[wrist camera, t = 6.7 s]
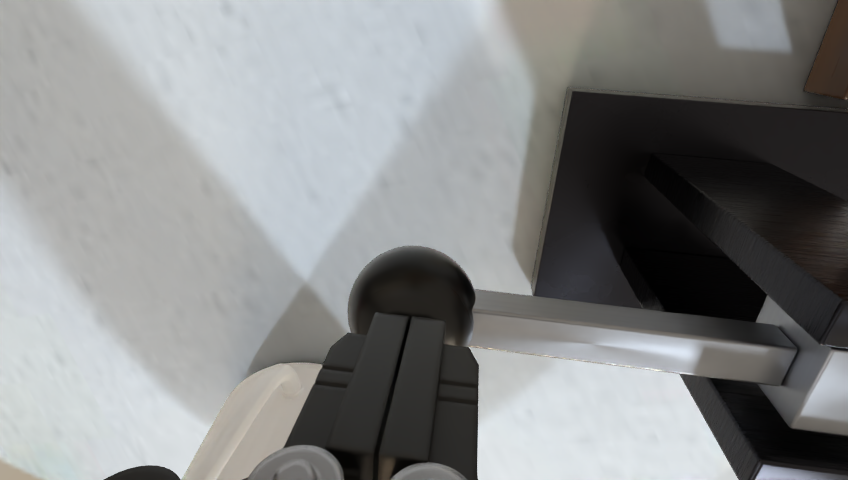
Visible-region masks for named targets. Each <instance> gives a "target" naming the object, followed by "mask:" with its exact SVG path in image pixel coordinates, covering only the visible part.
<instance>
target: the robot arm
mask: <svg viewBox="0 0 848 480" xmlns="http://www.w3.org/2000/svg"><path fill="white" fill-rule="evenodd" d="M445 329H446V320H440V319H432V318H423V317H415V316H413V317H412V320H411V324H410V316H405V315H397V314H388V313H380V312H376V313H375V314H374V317H373V320H372V322H371V325H370V328H369V330H368V333H367V335H363V334H354V333H347V334H346V335H345V336H343V337H342V338H341V339H340V340H339V341H337V342H336V343H335V344H334V345H333V346H331V348H330V350H329V352H328V354H327V356H326V359H325V361H324V363H323V365H322V369H320V371H319V373H318V376H317V378H316V380H315V384H313V386H312V388H311V390H310V392H309V395H308V397H307V399H306V401H305V403H304V405H303V407H302V409H301V412H300V414H299V416H298V418H297V420H296V422H295V424H294V426H293V429H292V431H291V433H290V435H289V437H288V439H287V441H286V443H285V445H284V447H283V449H280V450H278V451H276V452H274V453H272V454H271V455H269V456H267V457H266V458H265V459H263V460H262V461H261V462H260V463H259V464H258V465H257V466H256V467H255V468H254V470H253V471H252V472H251V474H250V475H249V477H247V478H245V479H242V480H478V478H477V437H478V373H479V365H478V363H477V361H476V359H475V358H474V356H473V354H472V352H471V350H470V349H469V347H463V346H454V345H446V344H444V339H445ZM104 480H180V478H179V477H178V476H177V474H175V473H174V472H173V471H171V470H169V469H167V468H165V467H160V466H139V467H135V468H130V469H127V470H124V471H121V472H119V473H117V474H114V475H112V476H110V477H108V478H106V479H104Z"/></svg>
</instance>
